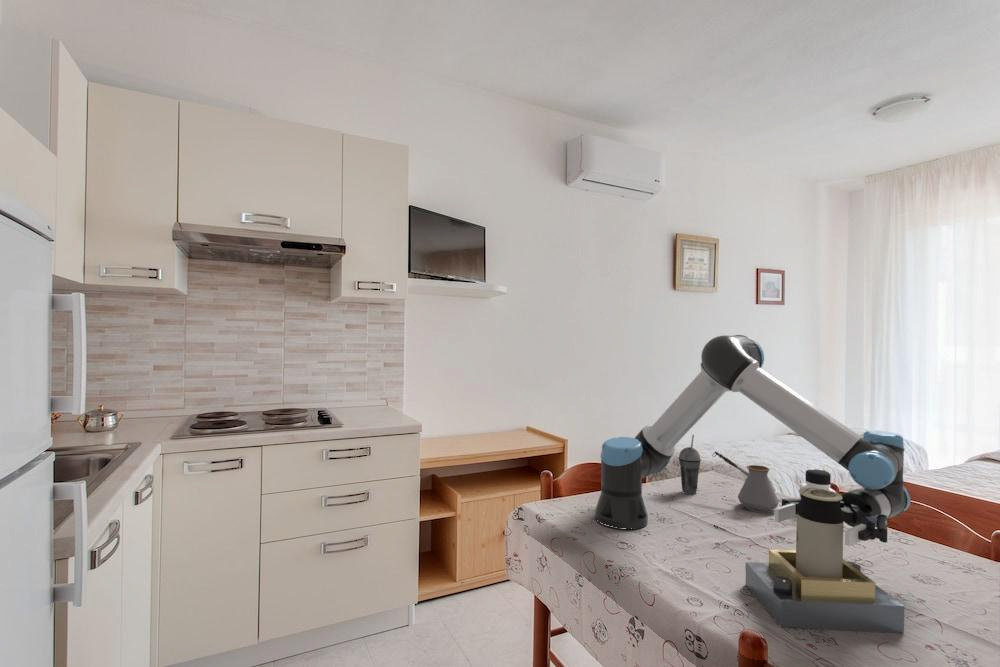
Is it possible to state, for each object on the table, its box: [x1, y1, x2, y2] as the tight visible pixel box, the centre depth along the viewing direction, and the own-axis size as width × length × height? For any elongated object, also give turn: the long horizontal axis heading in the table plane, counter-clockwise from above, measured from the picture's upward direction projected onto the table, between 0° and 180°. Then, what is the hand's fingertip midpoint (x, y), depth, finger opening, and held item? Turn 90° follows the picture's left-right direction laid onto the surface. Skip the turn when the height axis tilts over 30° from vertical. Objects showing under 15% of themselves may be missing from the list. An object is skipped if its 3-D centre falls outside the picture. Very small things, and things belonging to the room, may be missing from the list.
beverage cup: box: [678, 434, 702, 495], centre depth 174 cm, size 7×7×20 cm
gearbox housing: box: [745, 548, 905, 633], centre depth 102 cm, size 22×16×8 cm
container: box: [799, 468, 838, 498], centre depth 156 cm, size 8×8×13 cm
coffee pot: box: [712, 451, 779, 513], centre depth 163 cm, size 21×12×15 cm, turn 33°
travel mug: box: [795, 488, 844, 578], centre depth 102 cm, size 8×8×18 cm
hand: (809, 526), depth 100 cm, fingers open, 13 cm apart
